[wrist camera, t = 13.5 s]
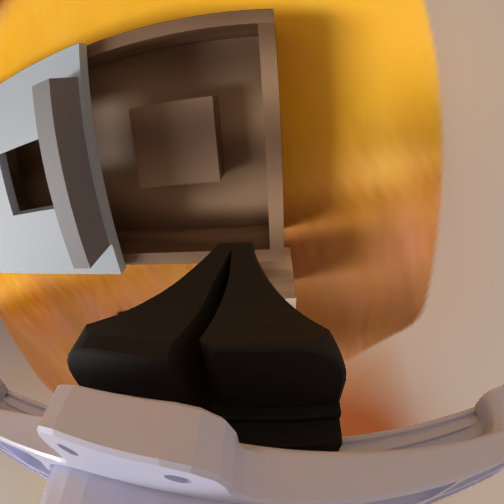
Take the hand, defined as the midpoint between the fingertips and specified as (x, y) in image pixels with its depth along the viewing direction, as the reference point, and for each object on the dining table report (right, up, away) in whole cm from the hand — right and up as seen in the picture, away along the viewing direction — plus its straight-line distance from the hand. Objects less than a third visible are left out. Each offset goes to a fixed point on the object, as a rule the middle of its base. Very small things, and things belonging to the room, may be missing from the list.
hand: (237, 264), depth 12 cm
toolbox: (-9, +8, +7) cm, 14 cm away
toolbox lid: (-19, +5, +4) cm, 20 cm away
